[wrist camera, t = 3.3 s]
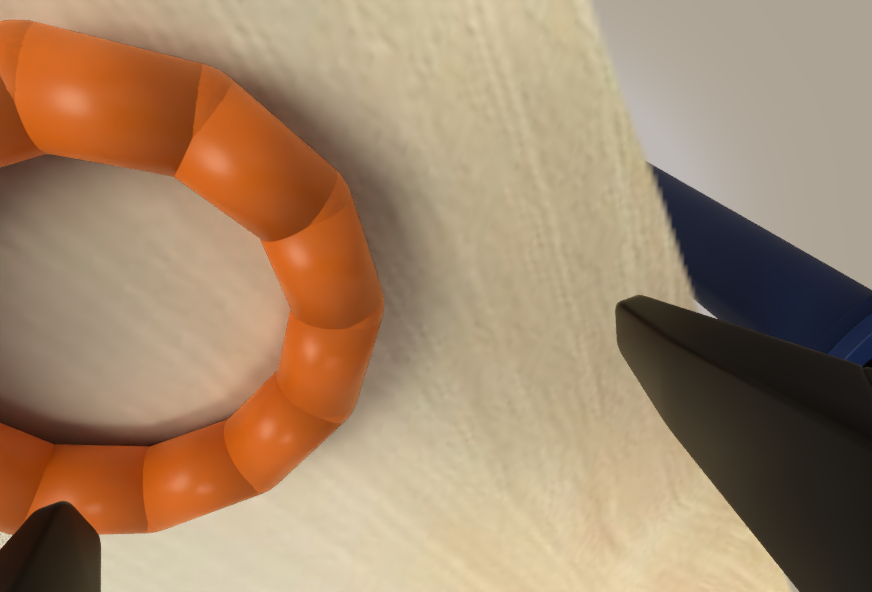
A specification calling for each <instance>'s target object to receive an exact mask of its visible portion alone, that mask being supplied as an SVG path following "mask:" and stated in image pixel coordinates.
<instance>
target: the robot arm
mask: <svg viewBox="0 0 872 592" xmlns="http://www.w3.org/2000/svg"><path fill="white" fill-rule="evenodd" d="M615 314H616V334H617V343H618V347H619V350H620V352H621V354H622V355H623V357H624V359H625V360H626V362H627V363H628V365H629V367H630V368H631V370H632V371H633V373H634V375H635V376H636V378H637V379H638V381H639V382H640V384H641V386H642V387H643V389H644V390H645V392H646V394H647V395H648V397H649V398H650V400H651V402H652V403H653V405H654V406H655V408H656V410H657V411H658V413H659V414H660V416H661V417H662V419H663V420H664V422H665V423H666V425H667V426H668V427H669V429H670V430H671V431H672V433H673V434H674V435H675V437H676V438H677V439H678V440H679V442H680V443H681V444H682V445H683V447H684V448H685V449H686V450H687V452H688V453H689V454H690V455H691V457H692V458H693V459H694V460H695V462H696V463H697V464H698V465H699V467H700V468H701V469H702V470H703V472H704V473H705V474H706V475H707V477H708V478H709V479H710V480H711V482H712V483H713V484H714V485H715V487H716V488H717V489H718V490H719V492H720V493H721V494H722V495H723V497H724V498H725V499H726V501H727V502H728V503H729V504H730V506H731V507H732V508H733V509H734V511H735V512H736V513H737V514H738V516H739V517H740V518H741V519H742V521H743V522H744V523H745V524H746V526H747V527H748V528H749V529H750V531H751V532H752V533H753V534H754V536H755V537H756V538H757V539H758V541H759V542H760V543H761V544H762V546H763V547H764V548H765V549H766V551H767V552H768V553H769V554H770V556H771V557H772V558H773V559H774V561H775V562H776V563H777V564H778V566H779V567H780V568H781V569H782V571H783V572H784V573H785V574H786V576H787V577H788V578H789V579H790V581H791V582H792V583H793V584H794V585H795V587H796V588H797V589H798V590H799V592H872V359H871V360H869V361H868V362H867V363H865V364H864V366H863V367H862V366H861V365H859V364H856V363H853V362H850V361H847V360H844V359H841V358H838V357H834V356H831V355H828V354H825V353H822V352H819V351H816V350H812V349H809V348H806V347H803V346H800V345H797V344H794V343H791V342H787V341H784V340H781V339H778V338H775V337H772V336H769V335H765V334H762V333H759V332H756V331H753V330H750V329H747V328H744V327H740V326H737V325H734V324H731V323H728V322H725V321H722V320H718V319H715V318H712V317H709V316H706V315H703V314H700V313H696V312H693V311H690V310H687V309H684V308H681V307H678V306H675V305H671V304H668V303H665V302H662V301H659V300H656V299H653V298H649V297H646V296H643V295H637V296H633V297H631V298H628V299H625V300H622V301H620V302H618V303H617V305H616V309H615ZM0 592H101V543H100V538H99V535H98V533H97V531H96V530H95V529H94V528H93V526H92V525H91V524H90V523H89V522H88V521H87V520H86V519H85V518H84V517H83V516H82V515H81V513H80V512H79V511H78V510H77V509H76V508H75V507H74V506H73V505H72V504H71V503H69V502H67V501H59V502H56V503H53V504H50V505H48V506H45V507H42V508H39V509H38V510H36V511H34V512H33V513H32V514H31V515H30V516H29V517H28V519H27V520H26V521H25V522H24V523H23V524H22V525H21V527H20V528H19V529H18V530H17V531H16V532H15V533H14V535H13V536H12V537H11V538H10V539H9V540H8V541H7V543H6V544H5V545H4V546H3V547H2V548H1V549H0Z"/></svg>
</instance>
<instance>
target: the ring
mask: <svg viewBox="0 0 872 592" xmlns="http://www.w3.org/2000/svg"><path fill="white" fill-rule="evenodd" d="M45 154H52V155H58V156H63V157H69V158H74V159H80V160H86V161H91V162H97V163H102V164H108V165H113V166H119V167H124V168H130V169H135V170H141V171H146V172H152V173H157V174H163V175H168V176H174V177H175V178H176V179H178V180H179V181H181V182H182V183H183V184H185V185H186V186H188V187H189V188H190V189H192V190H193V191H195V192H196V193H197V194H199V195H200V196H202V197H203V198H204V199H206V200H207V201H208V202H210V203H211V204H213V205H214V206H215V207H217V208H218V209H220V210H221V211H222V212H224V213H225V214H227V215H228V216H229V217H231V218H232V219H233V220H235V221H236V222H238V223H239V224H240V225H242V226H243V227H245V228H246V229H247V230H249V231H250V232H252V233H253V234H254V235H256V236H257V237H259V238H260V240H261V242H262V244H263V247H264V249H265V251H266V253H267V256H268V258H269V260H270V262H271V265H272V267H273V269H274V271H275V274H276V276H277V278H278V281H279V283H280V285H281V287H282V290H283V292H284V294H285V296H286V299H287V301H288V303H289V306H290V308H291V311H290V315H289V320H288V325H287V329H286V334H285V339H284V343H283V348H282V352H281V357H280V362H279V366H278V370H277V371H276V372H275V373H274V374H273V375H272V376H271V377H270V378H269V379H268V380H267V381H266V382H265V383H264V384H263V385H262V386H261V387H260V388H259V389H258V390H257V391H256V392H255V393H254V394H253V395H252V396H251V397H250V398H249V399H248V400H247V401H246V402H245V403H244V404H243V405H242V406H241V407H240V408H239V409H238V410H237V411H236V412H235V413H234V414H233V415H232V416H231V417H230V418H229V419H227V420H224V421H221V422H218V423H215V424H212V425H209V426H207V427H204V428H201V429H198V430H195V431H192V432H190V433H187V434H184V435H181V436H178V437H175V438H173V439H170V440H167V441H164V442H161V443H158V444H156V445H153V446H112V445H68V444H52V443H50V442H47V441H45V440H42V439H40V438H37V437H35V436H32V435H30V434H27V433H25V432H22V431H20V430H17V429H14V428H12V427H9V426H7V425H4V424H2V423H0V532H3V533H6V534H11V535H14V533H15V532H16V531H17V530H18V529H19V528H20V527H21V525H22V524H23V523H24V522H25V521H26V520H27V519H28V517H29V516H30V515H31V514H32V513H33V512H34V511H36V510H38V509H39V508H42V507H45V506H48V505H50V504H53V503H56V502H59V501H67V502H69V503H71V504H72V505H73V506H74V507H75V508H76V509H77V510H78V511H79V512H80V513H81V515H82V516H83V517H84V518H85V519H86V520H87V521H88V522H89V523H90V524H91V525H92V526H93V528H94V529H95V530H96V531H97V533H98V535H99V534H136V533H153V532H158V531H161V530H165V529H168V528H170V527H173V526H176V525H178V524H181V523H184V522H187V521H189V520H192V519H195V518H197V517H200V516H203V515H206V514H208V513H211V512H214V511H216V510H219V509H222V508H224V507H227V506H230V505H233V504H235V503H238V502H241V501H243V500H246V499H249V498H252V497H254V496H257V495H260V494H262V493H264V492H267V491H269V490H270V489H272V488H273V487H274V486H276V485H277V484H278V483H279V482H280V481H282V480H283V479H284V478H285V477H286V476H287V475H288V474H289V473H290V472H291V471H292V470H293V469H294V468H295V467H296V466H297V465H299V464H300V463H301V462H302V461H303V460H304V459H305V458H306V457H307V456H308V455H309V454H310V453H311V452H312V451H313V450H315V449H316V448H317V447H318V446H319V445H320V444H321V443H322V442H323V441H324V440H325V439H326V438H327V437H328V436H329V435H330V434H332V433H333V432H334V431H335V430H336V429H337V428H338V427H339V426H340V425H341V424H342V423H343V422H344V421H345V420H346V419H347V418H348V417H349V416H350V415H351V413H352V411H353V410H354V408H355V406H356V403H357V400H358V397H359V394H360V390H361V387H362V384H363V380H364V377H365V373H366V370H367V367H368V363H369V360H370V357H371V353H372V350H373V347H374V343H375V340H376V337H377V333H378V330H379V327H380V323H381V320H382V316H383V312H384V296H383V292H382V288H381V285H380V282H379V279H378V276H377V273H376V269H375V266H374V263H373V260H372V257H371V254H370V251H369V248H368V245H367V242H366V238H365V235H364V232H363V229H362V226H361V223H360V220H359V217H358V214H357V211H356V208H355V204H354V201H353V198H352V195H351V192H350V190H349V187H348V185H347V183H346V182H345V180H344V179H343V177H342V176H341V175H340V173H339V172H338V171H337V170H336V169H335V168H334V167H332V166H331V165H330V164H329V163H328V162H327V161H325V160H324V159H323V158H322V157H321V156H320V155H319V154H317V153H316V152H315V151H314V150H313V149H312V148H311V147H309V146H308V145H307V144H306V143H305V142H304V141H303V140H301V139H300V138H299V137H298V136H297V135H296V134H294V133H293V132H292V131H291V130H290V129H289V128H288V127H286V126H285V125H284V124H283V123H282V122H281V121H280V120H278V119H277V118H276V117H275V116H274V115H273V114H272V113H270V112H269V111H268V110H267V109H266V108H265V107H263V106H262V105H261V104H260V103H259V102H258V101H257V100H255V99H254V98H253V97H252V96H251V95H250V94H249V93H247V92H246V91H245V90H244V89H243V88H242V87H241V86H239V85H238V84H237V83H236V82H235V81H234V80H233V79H231V78H230V77H229V76H227V75H226V74H225V73H223V72H222V71H219V70H218V69H216V68H213V67H211V66H208V65H205V64H201V63H197V62H193V61H189V60H185V59H181V58H177V57H173V56H169V55H165V54H162V53H158V52H154V51H150V50H146V49H142V48H138V47H134V46H130V45H126V44H122V43H118V42H114V41H110V40H106V39H102V38H98V37H94V36H90V35H86V34H82V33H78V32H74V31H70V30H66V29H62V28H58V27H54V26H50V25H46V24H42V23H38V22H33V21H29V20H4V21H0V168H1V167H4V166H7V165H11V164H14V163H18V162H21V161H24V160H28V159H31V158H35V157H38V156H42V155H45Z"/></svg>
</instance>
